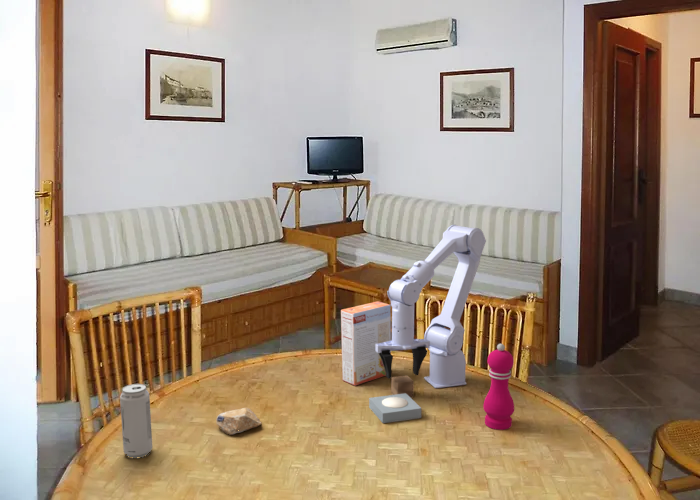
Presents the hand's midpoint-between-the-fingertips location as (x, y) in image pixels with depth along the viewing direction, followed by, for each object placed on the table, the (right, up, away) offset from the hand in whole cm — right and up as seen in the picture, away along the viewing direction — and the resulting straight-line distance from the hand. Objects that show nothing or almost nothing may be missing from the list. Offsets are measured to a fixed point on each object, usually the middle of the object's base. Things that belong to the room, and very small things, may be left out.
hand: (402, 375), depth 178 cm
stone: (-40, -9, -18) cm, 44 cm away
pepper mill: (+22, -9, -17) cm, 29 cm away
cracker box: (-9, -3, +14) cm, 17 cm away
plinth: (-3, -7, -10) cm, 13 cm away
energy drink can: (-60, -11, -31) cm, 68 cm away
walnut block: (0, -5, +1) cm, 6 cm away
